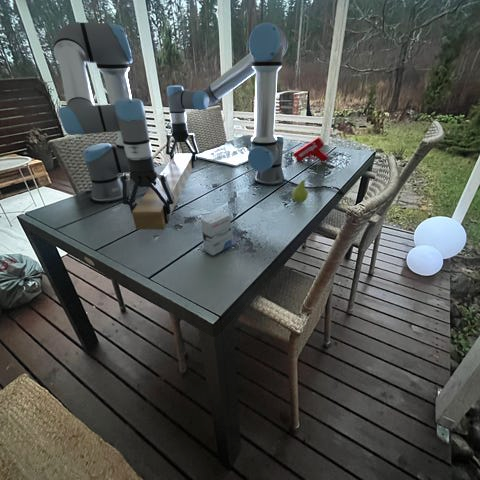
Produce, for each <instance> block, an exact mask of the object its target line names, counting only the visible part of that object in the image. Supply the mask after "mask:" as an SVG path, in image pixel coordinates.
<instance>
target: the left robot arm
mask: <svg viewBox="0 0 480 480" xmlns="http://www.w3.org/2000/svg"><path fill="white" fill-rule="evenodd" d="M52 51H53V55H54V58H55V60H56V62H57V63H58V66H59V70H60V71H59V72H60V76H61V82H62V88H63V93H64V98H65V104H66V105H65V106H62V107H59V108H58V116H59V119H60V123H61V126H62V128H63V131H64V132H65V133H66V134H67V135H70V136H78V135H79V136H80V135H81V136H83V135H92V134H94V135H95V134H103V133H116V135H117V139H116V140H115V146H112V144H110V143H109V142H104V143H102V142H101V143H98V144H94V145H93V144H92V145H91V146H88V147H86V148H85V149H84V150H83V152H82V154H83V159H84V163H85V165H86V168H87V172H88V174H89V179H90V181H91V190H85V193H86V194H89V193H90V194H91V199H92V201H93V202H95V203H98V204H109V203H114V202H118V201H121V200H122V205H125V206H129V209H130V214H132V211H133V210H134V208H135V207H136V206H137V204H138V203H136V199H137V196H138V194H139V191H140V188H144V187H145V188H150V187H151V189H152V190H154V192H155V193H156V194H157V196H158V197H159V198H160V200H161V201H162V202H163V204H164V205H163V212H164V217H165V223H166V225H168V224H169V222H170V219H171V218H169V214H170V212H171V208H170V204H173V203H174V201H175V199H174V196H173V194H172V192H171V189H170V187H169V184H168V182H167V176H166V174H165V173H163V174H161V173H158V172H157V171H156V167H155V161H154V157H153V149H152V144H151V139H150V133H149V128H148V121H147V116H146V113H147V112H146V110H145V106H144V102H143V101H142V100H141V99H139V98H132V93H131V88H130V83H129V78H128V73H129V71H130V70H131V66H130V64H132V63H133V55H132V50H131V46H130V44H129V40H128V38H127V35H126V32H125V30H124V29H123V27H122V26H121V25H120V24H117V23H109V22H80V21H73V22H69V23H66V24H65V25H64V26H62V27H61V28H60V29H59V30H58V32H57V33H56V34H55V37H54V39H53V43H52ZM87 63H90V64H96V68H97V70H98V71H99V72H100V73H102V75H103V76H102V77H103V79H104V83H105V88H106V92H107V97H108V101H109V104H95V101H94V96H93V91H92V88H91V83H90V79H89V76H88V75H89V74H88V71H87V67H86V66H87ZM120 174H122V175H121V176H120ZM157 178H158V179H159V181H161V184H162V186H163V189H164V191H165V193H166V195H165V194H164V193H163V191H162V190H161V189H160V187H159V186H158V183H157V182H156V179H157ZM130 181H133V183H134V184H133V189H132V193H131V195H130ZM166 196H167V197H166Z"/></svg>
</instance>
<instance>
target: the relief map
mask: <svg viewBox="0 0 480 480" xmlns="http://www.w3.org/2000/svg"><path fill="white" fill-rule="evenodd" d="M249 151H250V150H249V149H248V148H247V147H246V146H243V147H241V148H237V147H234V145H233V144H232V143H227V142H226V143H224V144H223V145H220V146H219V147H215V148H212V149H209V150H206V149H205V151H202V152H201V153H200V152H199V153H198V154H196V159H202V160H206V161H210V162H213V163H218V164H223V165H226V166H227V165H228V166H232V167H238V166H241V165H242V164H246V163H249V162H248V153H249Z"/></svg>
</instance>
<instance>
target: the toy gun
mask: <svg viewBox="0 0 480 480" xmlns="http://www.w3.org/2000/svg"><path fill="white" fill-rule="evenodd" d="M324 145H325V143H324V141H323V140H322V138H321V137H320V136H317V137H316V138H314V139H313V140H311V141H310V142H308V143H306V144H305V145H303V146H302V147H301V148H299V149H298V150H296V151H295V152H294V153H293V156H294V158H295V160H296V162H301V161H302V160H304V159H306V158H309V160H310V159H314V158H317V159H318V160H319V161H321V162H320V163H321V164H324V162H322V161H325V160H326V162H328V158H329V155H328V154H327V153H325V152H324V151H323V150H322V148H323V147H324Z"/></svg>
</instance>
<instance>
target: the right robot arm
mask: <svg viewBox="0 0 480 480" xmlns="http://www.w3.org/2000/svg"><path fill="white" fill-rule="evenodd" d="M288 47H289V37H288V34H287V32H286V31H285V29H283V27H281V26H279V25H277V24H276V23H274V22H261V23H259V24H257V25H256V26H255V27H254V28H253V29H252V31H251V32H250V35H249V38H248V51H249V53H248V54H247V55H245V56H244V57H243V58H241V59H240V60H238V62H237V63H235V64H234V65H233V66H232V67H231V68H229V69H228V70H226V71H225V72H224V73H223V74H222V75H220V76H219V77H218V78H217V79H215V80H213V82H212V83H210V85H208V86H207V87H206V88H203V89H199V90H184V87H183V86H182V85H167V87H166V94H167V95H166V96H167V97H166V98H167V102H168V109H169V118H170V122H171V123H170V127H171V133H167V134H166V136H165V137H166V147H165V155H167V156H169V160H170V161H171V160H172V158H173V157H174V156H175V154H174V152H175V149H176V146H177V144H178V143H184V144H185V146H187V148H188V150H189V152H190V154H192V155H191V158H192V168H193V169H195V162H196V161H197V158H196V155H197V154H200V151H199V148H198V145H197V142H196V138H195V133H189V131H188V130H189V129H188V123H187V113H186V110H195V111H206V110H207V109H208V107H213V106H214V105H217V104H218V101H219V100H220V99H222V98H223V97H225V96H226V95H227V94H229V93H230V92H231V91H233V90H234V89H235V88H237V87H238V86H239V85H241V84H242V83H244V82H245V81H246V80H247V79H249V78H250V77H252V76H253V75H255V88H254V89H255V92H254V94H255V95H254V96H255V97H254V134H253V136H252V137H251V138H250V150H248V151H249V153H248V162H247V163H248V164H249V165H250V167H251V168H252V169H253V170H255V171H256V174H255V176H254V181H255V183H258V184H259V185H262V186H263V185H264V186H279V185H281V184H283V183H284V182H286V183H288V184H290V185H294V186H295V187H297V186H298V184H299V183H297V182H292V181H290V180H287V179H285V175H284V172H283V171H284V170H283V167H282V165H283V154H284V153H283V152H284V137H283V135H280V134H279V135H278V134H275V122H276V107H277V106H276V105H277V103H276V102H277V86H278V73H279V71H280V69H281V68H282V67H283V57H284V56H285V54H286V53H287V51H288ZM172 138H173V140H174V141H173V143H172V146H171V140H172ZM188 138H189V139H190V140H191V143H192V145H191V143H190V142H189V140H188ZM170 146H171V147H170ZM170 148H171V149H170ZM319 186H321V187H319ZM327 186H328V185H317V186H306V185H305V189H306V190H315V189H323V188H326V189H333V190H337V191H338V192H339V193H340V194H341V195H344V192H343V190H341V188H340V187H338V186H332V185H330V186H331V187H333V188H331V187H327ZM334 188H335V189H334Z"/></svg>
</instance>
